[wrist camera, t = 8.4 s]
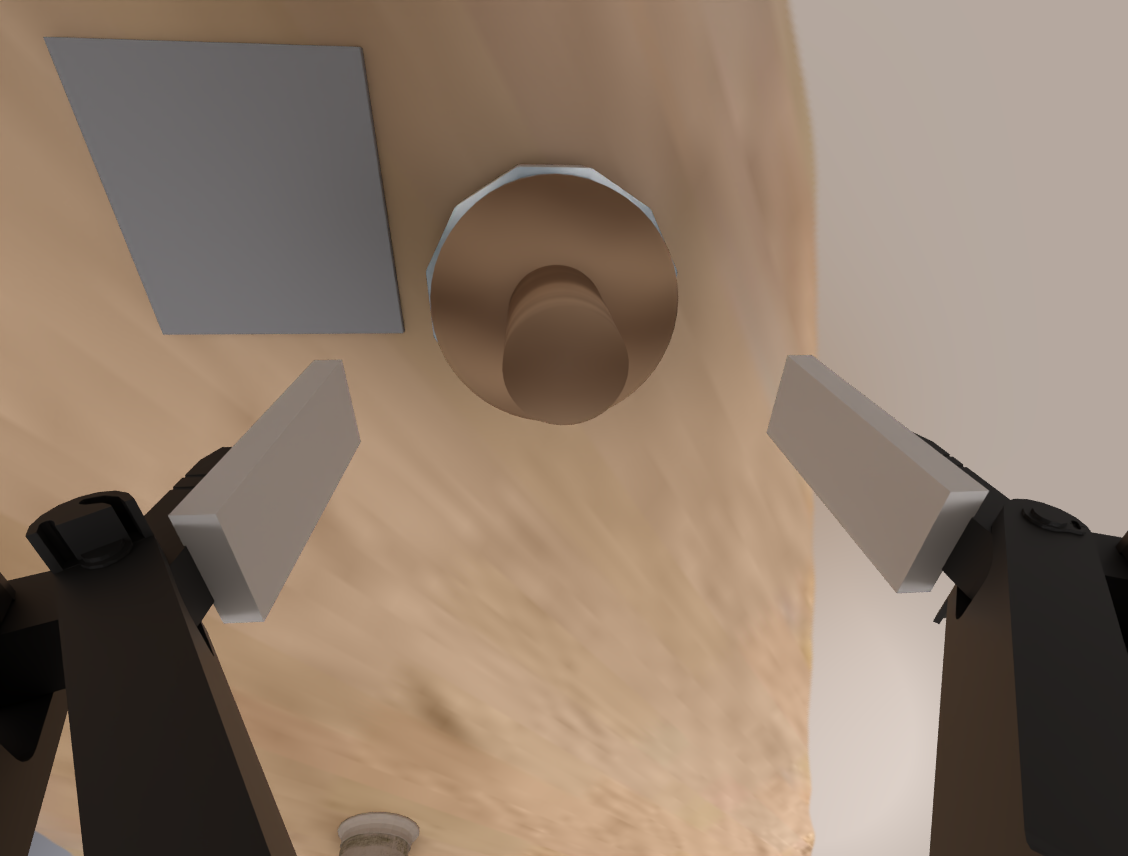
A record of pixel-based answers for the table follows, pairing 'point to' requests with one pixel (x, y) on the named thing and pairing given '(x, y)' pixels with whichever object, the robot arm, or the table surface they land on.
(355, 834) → the mug
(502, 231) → the lid
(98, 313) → the table surface
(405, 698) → the table surface
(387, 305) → the mat
